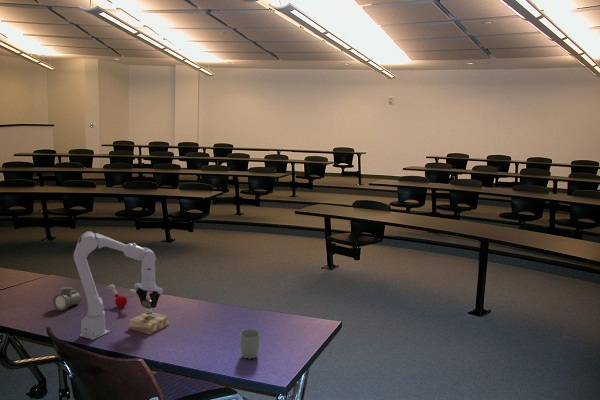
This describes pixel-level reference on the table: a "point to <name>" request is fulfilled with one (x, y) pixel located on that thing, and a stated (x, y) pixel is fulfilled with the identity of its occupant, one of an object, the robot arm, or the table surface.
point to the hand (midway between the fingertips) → (148, 306)
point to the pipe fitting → (66, 298)
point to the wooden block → (149, 322)
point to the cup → (249, 343)
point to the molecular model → (121, 300)
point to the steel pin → (147, 306)
